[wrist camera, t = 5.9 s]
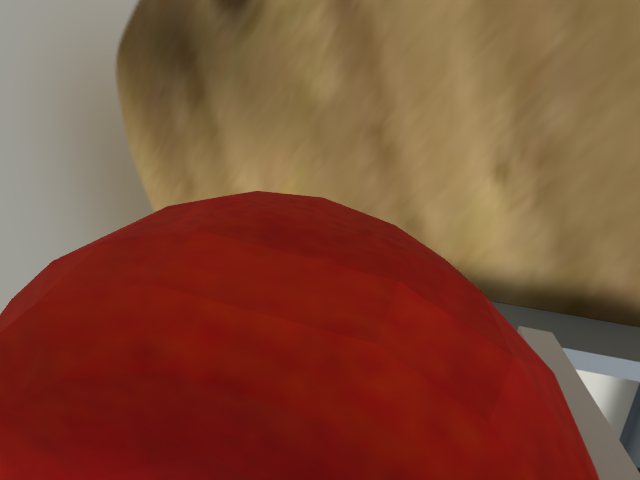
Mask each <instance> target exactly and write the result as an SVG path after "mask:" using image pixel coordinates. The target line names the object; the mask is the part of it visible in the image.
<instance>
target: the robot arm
mask: <svg viewBox="0 0 640 480" xmlns="http://www.w3.org/2000/svg"><path fill="white" fill-rule="evenodd" d="M517 332H518V333H519V334H520V335H521V337H522V338H523V339H524V340H525V341H526V342H527V343H528V344H529V346H530V347H531V348H532V349H533V350H534V351H535V352H536V353H537V354H538V356H539V357H540V358H541V359H542V360H543V361H544V362H545V363H546V365H547V366H548V367H549V368H550V369H551V370H552V371H553V372H554V374H555V376H556V379H557V381H558V383H559V385H560V388H561V390H562V392H563V395H564V397H565V399H566V402H567V404H568V406H569V409H570V411H571V413H572V415H573V418H574V420H575V422H576V425H577V427H578V429H579V432H580V434H581V436H582V439H583V441H584V443H585V446H586V448H587V450H588V452H589V455H590V457H591V459H592V462H593V464H594V466H595V469H596V471H597V474H598V477H599V480H640V468H638V467H636V466H635V465H634V463H633V461H632V460H631V458H630V457H629V455H628V453H627V452H626V450H625V449H624V447H623V445H622V444H621V442H620V441H619V439H618V437H617V436H616V434H615V433H614V431H613V429H612V428H611V426H610V424H609V423H608V421H607V420H606V418H605V416H604V415H603V413H602V412H601V410H600V408H599V407H598V405H597V404H596V402H595V400H594V399H593V397H592V396H591V394H590V392H589V391H588V389H587V388H586V386H585V384H584V383H583V381H582V379H581V378H580V376H579V375H578V373H577V371H576V370H575V368H574V367H573V365H572V363H571V362H570V360H569V359H568V357H567V355H566V354H565V352H564V351H563V349H562V347H561V346H560V344H559V343H558V341H557V339H556V338H555V336H554V335H553V333H552V332H547V331H542V330H537V329H532V328H527V327H522V326H519V327H518V330H517Z"/></svg>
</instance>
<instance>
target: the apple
mask: <svg viewBox="0 0 640 480" xmlns="http://www.w3.org/2000/svg"><path fill="white" fill-rule="evenodd" d="M0 480H599V477H598V474H597V471H596V469H595V466H594V464H593V462H592V459H591V457H590V455H589V452H588V450H587V448H586V446H585V443H584V441H583V439H582V436H581V434H580V432H579V429H578V427H577V425H576V422H575V420H574V418H573V415H572V413H571V411H570V409H569V406H568V404H567V402H566V399H565V397H564V395H563V392H562V390H561V388H560V385H559V383H558V381H557V379H556V376H555V374H554V372H553V371H552V370H551V369H550V368H549V367H548V366H547V365H546V363H545V362H544V361H543V360H542V359H541V358H540V357H539V356H538V354H537V353H536V352H535V351H534V350H533V349H532V348H531V347H530V346H529V344H528V343H527V342H526V341H525V340H524V339H523V338H522V337H521V335H520V334H519V333H518V332H517V331H516V330H515V329H514V328H513V327H512V325H511V324H510V323H509V322H508V321H507V320H506V319H505V318H504V316H503V315H502V314H501V313H500V312H499V311H498V310H497V309H496V308H495V306H494V305H493V304H492V303H491V302H490V301H489V300H488V299H487V297H486V296H485V295H484V294H483V293H482V292H481V291H480V290H479V289H478V288H477V287H475V286H474V285H473V284H472V283H471V282H470V281H469V280H468V279H467V278H465V277H464V276H463V275H462V274H461V273H460V272H459V271H458V270H456V269H455V268H454V267H453V266H452V265H451V264H450V263H449V262H448V261H446V260H445V259H444V258H442V257H441V256H440V255H438V254H437V253H435V252H434V251H432V250H431V249H429V248H428V247H426V246H425V245H423V244H422V243H420V242H419V241H417V240H416V239H415V238H413V237H412V236H410V235H409V234H407V233H406V232H404V231H403V230H401V229H400V228H398V227H397V226H395V225H393V224H390V223H388V222H385V221H383V220H380V219H377V218H375V217H372V216H370V215H367V214H364V213H362V212H359V211H356V210H354V209H351V208H349V207H346V206H343V205H341V204H338V203H336V202H333V201H330V200H328V199H325V198H321V197H311V196H301V195H292V194H282V193H272V192H262V191H254V192H248V193H242V194H235V195H229V196H223V197H217V198H212V199H206V200H200V201H195V202H189V203H184V204H178V205H172V206H167V207H165V208H163V209H161V210H159V211H157V212H155V213H153V214H151V215H149V216H146V217H144V218H142V219H140V220H138V221H136V222H134V223H132V224H130V225H128V226H126V227H123V228H122V229H119V230H117V231H115V232H113V233H111V234H109V235H107V236H104V237H102V238H100V239H98V240H96V241H94V242H92V243H90V244H88V245H86V246H83V247H81V248H79V249H77V250H75V251H73V252H71V253H69V254H67V255H65V256H62V257H60V258H59V259H56V260H54V261H52V262H51V263H50V264H49V265H48V266H47V267H46V268H45V269H44V270H43V271H41V272H40V273H39V274H38V275H37V276H36V277H35V278H34V279H33V280H32V281H31V282H30V283H29V284H28V285H27V286H25V287H24V288H23V289H22V290H21V291H20V292H19V293H18V294H17V295H16V296H15V297H14V298H12V299H11V301H10V302H9V304H8V305H7V306H6V308H5V309H4V310H3V312H2V313H1V315H0Z"/></svg>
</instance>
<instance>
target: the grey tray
mask: <svg viewBox="0 0 640 480" xmlns="http://www.w3.org/2000/svg"><path fill="white" fill-rule="evenodd" d="M490 302H491V303H492V304H493V305H494V306H495V308H496V309H497V310H498V311H499V312H500V313H501V314H502V315H503V316H504V318H505V319H506V320H507V321H508V322H509V323H510V324H511V325H512V327H513V328H514V329H515V330H516V331H517V330H518V327H519V326H522V327H527V328H532V329H537V330H542V331H547V332H552V333H553V335H554V336H555V338H556V339H557V341H558V343H559V344H560V346H561V347H562V349H563V351H564V352H565V354H566V355H567V357H568V359H569V360H570V362H571V363H572V365H573V367H574V368H575V370H576V371H577V373H578V375H579V376H580V378H581V379H582V381H583V383H584V384H585V386H586V388H587V389H588V391H589V392H590V394H591V396H592V397H593V399H594V400H595V402H596V404H597V405H598V407H599V408H600V410H601V412H602V413H603V415H604V416H605V418H606V420H607V421H608V423H609V424H610V426H611V428H612V429H613V431H614V433H615V434H616V436H617V437H618V439H619V441H620V442H621V444H622V445H623V447H624V449H625V450H626V452H627V453H628V455H629V457H630V458H631V460H632V461H633V463H634V465H635V466H636V467H638V468H640V327H635V326H629V325H624V324H618V323H612V322H607V321H601V320H595V319H589V318H584V317H578V316H572V315H567V314H561V313H555V312H550V311H544V310H538V309H533V308H527V307H521V306H515V305H510V304H504V303H498V302H493V301H490Z"/></svg>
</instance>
